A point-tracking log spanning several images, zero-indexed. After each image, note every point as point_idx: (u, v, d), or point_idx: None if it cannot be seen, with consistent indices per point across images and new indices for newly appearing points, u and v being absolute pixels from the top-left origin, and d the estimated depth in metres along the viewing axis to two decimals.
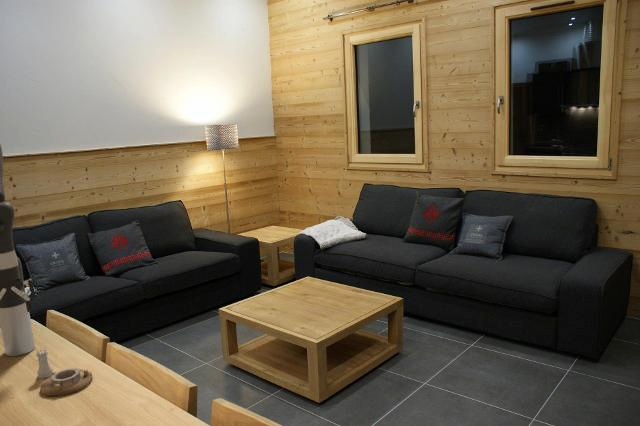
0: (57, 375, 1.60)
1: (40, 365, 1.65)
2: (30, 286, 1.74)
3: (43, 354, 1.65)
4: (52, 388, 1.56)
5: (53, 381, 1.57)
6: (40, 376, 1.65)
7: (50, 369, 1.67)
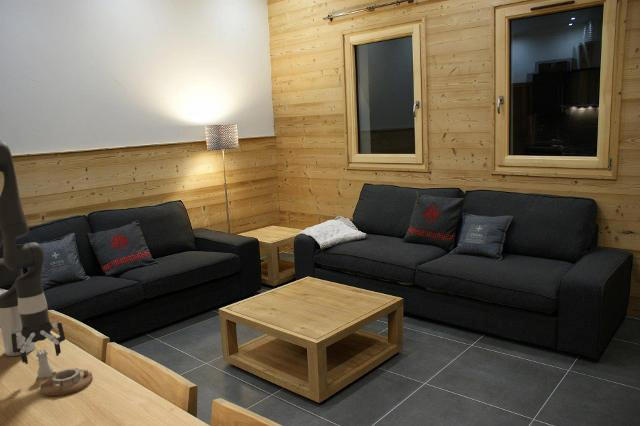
0: (57, 375, 1.60)
1: (40, 365, 1.65)
2: (59, 329, 1.66)
3: (43, 354, 1.65)
4: (52, 388, 1.56)
5: (53, 381, 1.57)
6: (40, 376, 1.65)
7: (50, 369, 1.67)
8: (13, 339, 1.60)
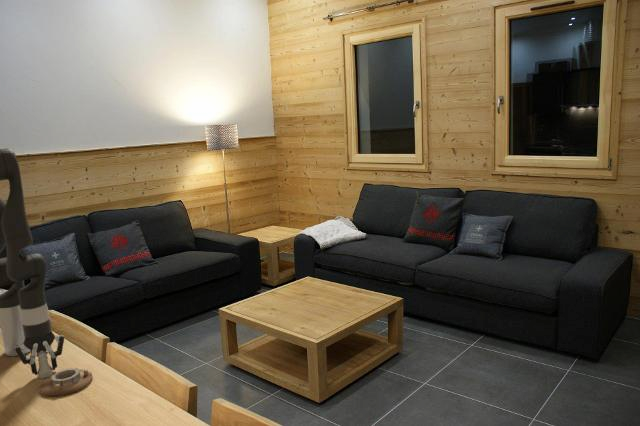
0: (57, 375, 1.60)
1: (40, 365, 1.65)
2: (60, 343, 1.67)
3: (43, 354, 1.65)
4: (52, 388, 1.56)
5: (53, 381, 1.57)
6: (40, 376, 1.65)
7: (50, 369, 1.67)
8: (19, 353, 1.62)
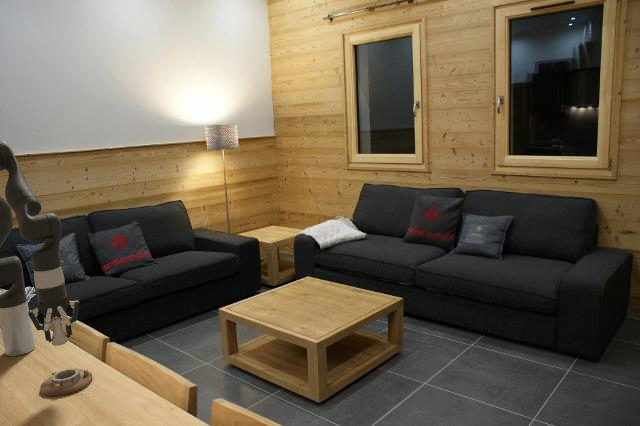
0: (57, 375, 1.60)
1: (54, 332, 1.56)
2: (75, 309, 1.58)
3: (57, 320, 1.56)
4: (52, 388, 1.56)
5: (53, 381, 1.57)
6: (54, 343, 1.56)
7: (65, 336, 1.57)
8: (32, 318, 1.52)
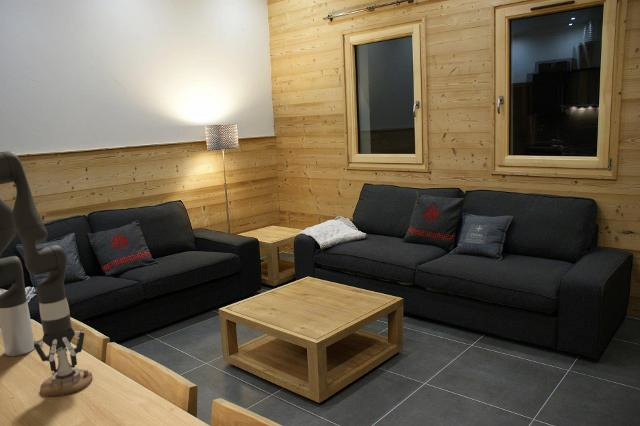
0: (57, 375, 1.60)
1: (59, 362, 1.58)
2: (80, 339, 1.60)
3: (63, 351, 1.57)
4: (52, 388, 1.56)
5: (53, 381, 1.57)
6: (59, 374, 1.58)
7: (70, 366, 1.59)
8: (37, 349, 1.54)
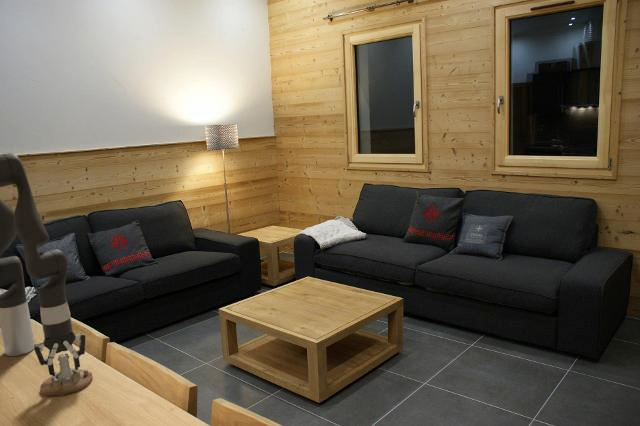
0: (57, 375, 1.60)
1: (61, 369, 1.58)
2: (82, 342, 1.60)
3: (65, 358, 1.58)
4: (52, 388, 1.56)
5: (53, 381, 1.57)
6: None
7: (71, 374, 1.60)
8: (37, 352, 1.54)
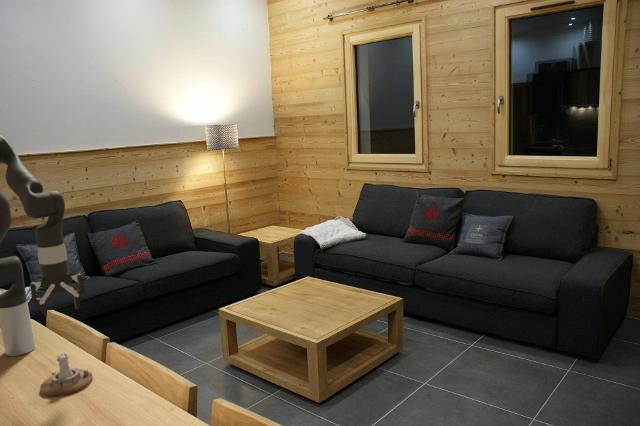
0: (57, 375, 1.60)
1: (61, 370, 1.58)
2: (79, 281, 1.61)
3: (64, 358, 1.58)
4: (52, 388, 1.56)
5: (53, 381, 1.57)
6: None
7: (71, 374, 1.60)
8: (32, 290, 1.55)
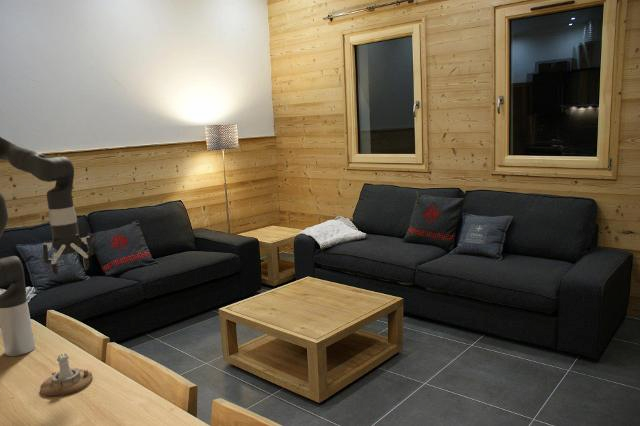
0: (57, 375, 1.60)
1: (61, 370, 1.58)
2: (88, 243, 1.71)
3: (64, 358, 1.58)
4: (52, 388, 1.56)
5: (53, 381, 1.57)
6: None
7: (71, 374, 1.60)
8: (44, 250, 1.64)
